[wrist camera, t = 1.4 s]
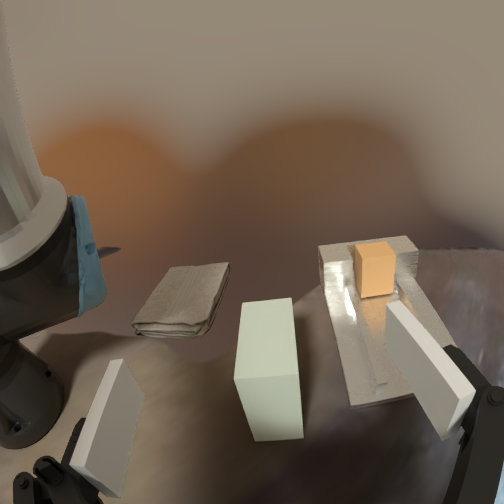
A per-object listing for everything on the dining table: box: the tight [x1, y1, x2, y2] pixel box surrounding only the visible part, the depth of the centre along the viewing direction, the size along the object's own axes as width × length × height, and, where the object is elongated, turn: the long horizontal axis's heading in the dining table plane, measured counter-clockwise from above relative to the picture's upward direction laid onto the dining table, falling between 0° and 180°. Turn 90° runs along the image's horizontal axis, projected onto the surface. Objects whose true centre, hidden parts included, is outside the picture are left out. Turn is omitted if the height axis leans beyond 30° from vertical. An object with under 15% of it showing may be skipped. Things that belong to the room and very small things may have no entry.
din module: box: [234, 298, 304, 441], centre depth 26 cm, size 4×9×10 cm, turn 177°
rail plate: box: [318, 236, 458, 410], centre depth 35 cm, size 14×24×6 cm, turn 178°
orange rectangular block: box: [355, 241, 396, 298], centre depth 40 cm, size 5×4×6 cm
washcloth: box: [132, 262, 231, 338], centre depth 47 cm, size 12×18×3 cm, turn 172°
